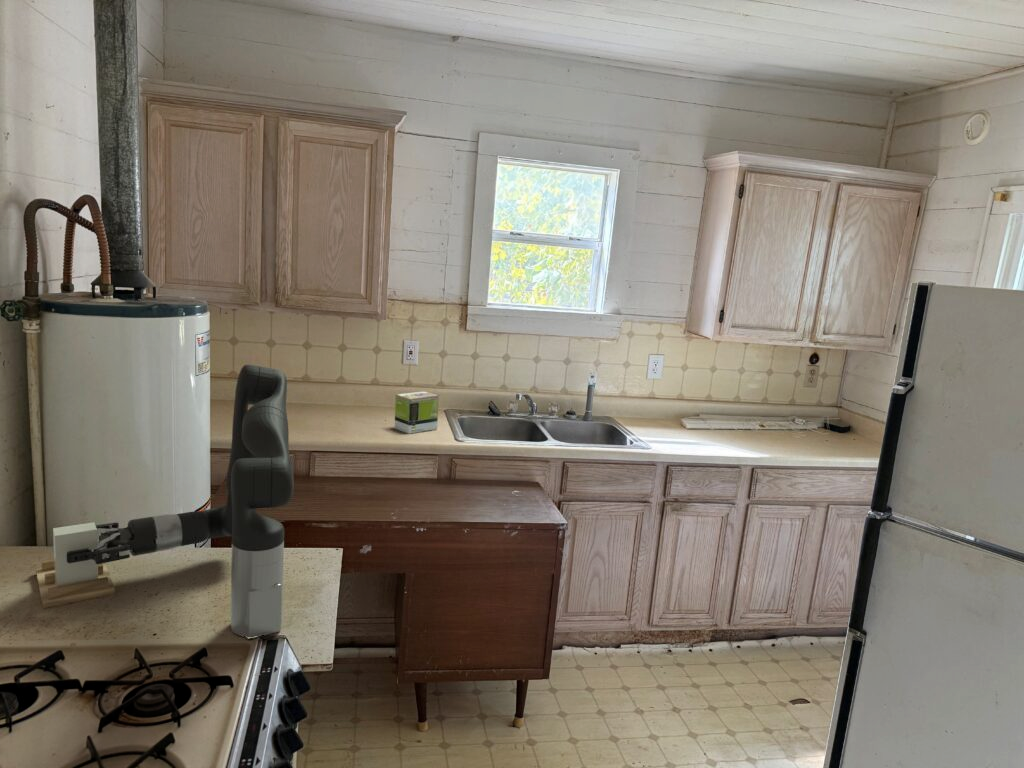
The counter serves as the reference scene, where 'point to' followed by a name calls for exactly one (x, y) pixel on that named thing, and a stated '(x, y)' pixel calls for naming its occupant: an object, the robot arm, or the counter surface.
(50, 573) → the rack
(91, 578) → the clay slab
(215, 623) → the counter surface
